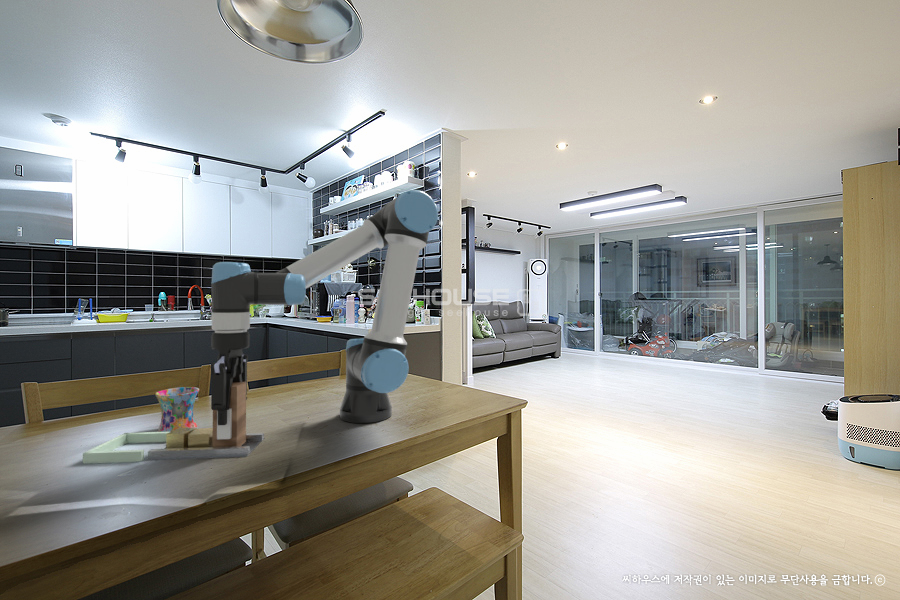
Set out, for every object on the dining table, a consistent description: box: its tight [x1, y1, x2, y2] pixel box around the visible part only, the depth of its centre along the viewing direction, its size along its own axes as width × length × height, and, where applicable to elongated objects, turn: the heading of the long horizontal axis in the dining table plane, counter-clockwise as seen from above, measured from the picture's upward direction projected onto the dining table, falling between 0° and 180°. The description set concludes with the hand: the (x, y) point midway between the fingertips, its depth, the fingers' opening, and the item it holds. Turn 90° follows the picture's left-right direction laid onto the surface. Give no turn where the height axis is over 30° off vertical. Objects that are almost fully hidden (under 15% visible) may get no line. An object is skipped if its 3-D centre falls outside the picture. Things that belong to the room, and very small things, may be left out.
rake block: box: [212, 382, 247, 447], centre depth 88 cm, size 5×5×14 cm
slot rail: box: [145, 432, 265, 461], centre depth 88 cm, size 20×11×2 cm, turn 96°
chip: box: [165, 427, 198, 449], centre depth 87 cm, size 4×4×4 cm
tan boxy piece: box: [188, 427, 213, 448], centre depth 87 cm, size 4×4×4 cm
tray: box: [82, 431, 169, 464], centre depth 86 cm, size 11×12×3 cm
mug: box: [154, 386, 200, 432], centre depth 102 cm, size 12×9×11 cm
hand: (230, 433), depth 88 cm, fingers closed on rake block, 5 cm apart
